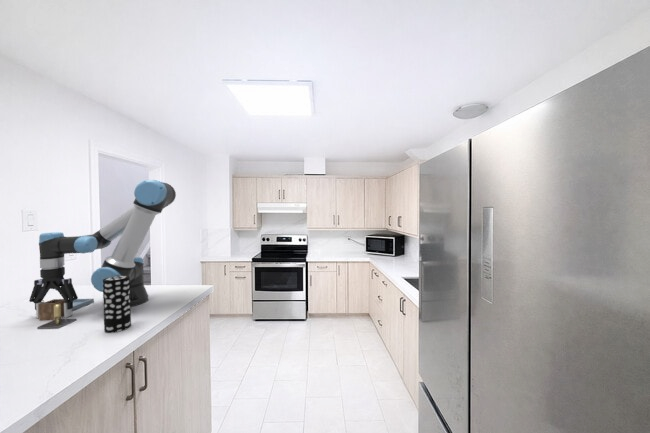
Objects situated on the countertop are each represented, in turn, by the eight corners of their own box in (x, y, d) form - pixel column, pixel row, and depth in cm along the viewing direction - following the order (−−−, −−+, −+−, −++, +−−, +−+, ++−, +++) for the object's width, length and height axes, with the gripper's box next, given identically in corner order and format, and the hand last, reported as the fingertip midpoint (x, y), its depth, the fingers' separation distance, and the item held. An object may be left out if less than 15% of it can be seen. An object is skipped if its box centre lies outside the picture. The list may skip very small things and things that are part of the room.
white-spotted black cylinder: (129, 321, 110) (127, 274, 109) (132, 327, 104) (131, 277, 103) (103, 328, 104) (101, 278, 103) (105, 335, 98) (103, 282, 98)
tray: (93, 302, 134) (93, 298, 134) (69, 312, 121) (69, 308, 121) (67, 303, 134) (67, 299, 134) (40, 313, 121) (40, 308, 121)
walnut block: (68, 314, 119) (68, 298, 119) (54, 320, 113) (54, 303, 112) (54, 314, 119) (53, 299, 119) (39, 320, 112) (38, 304, 112)
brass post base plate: (76, 320, 112) (75, 301, 112) (58, 328, 104) (57, 307, 104) (57, 320, 112) (56, 301, 112) (37, 329, 104) (36, 308, 104)
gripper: (87, 265, 119) (89, 312, 120) (34, 266, 118) (36, 314, 119) (72, 268, 112) (73, 319, 112) (15, 270, 111) (17, 321, 111)
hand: (54, 316), depth 116 cm, fingers open, 11 cm apart
